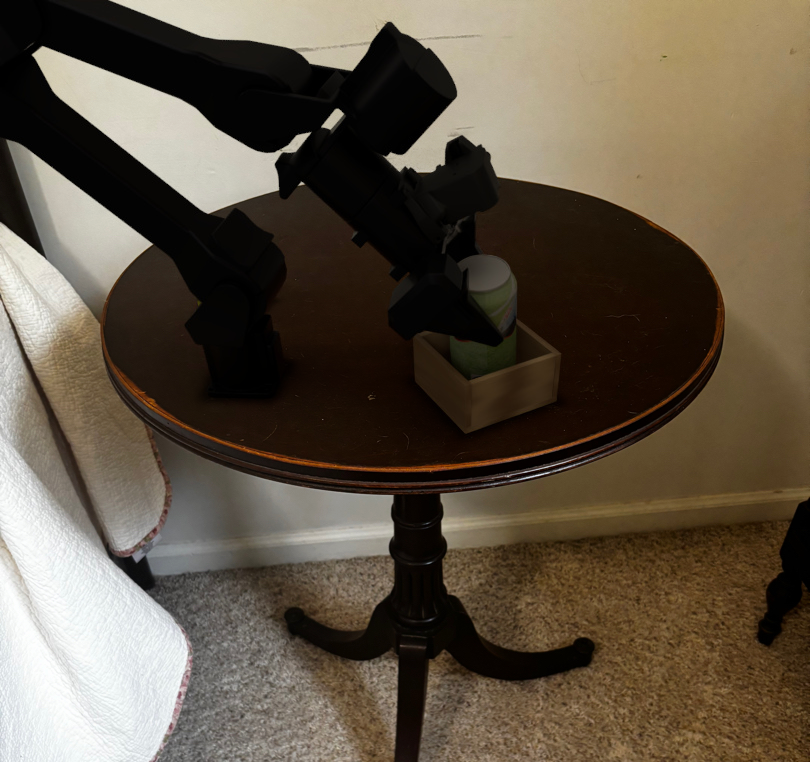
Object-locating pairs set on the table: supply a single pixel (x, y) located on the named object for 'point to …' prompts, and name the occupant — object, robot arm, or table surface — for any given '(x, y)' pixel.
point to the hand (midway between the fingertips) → (501, 320)
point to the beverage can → (499, 302)
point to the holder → (488, 380)
